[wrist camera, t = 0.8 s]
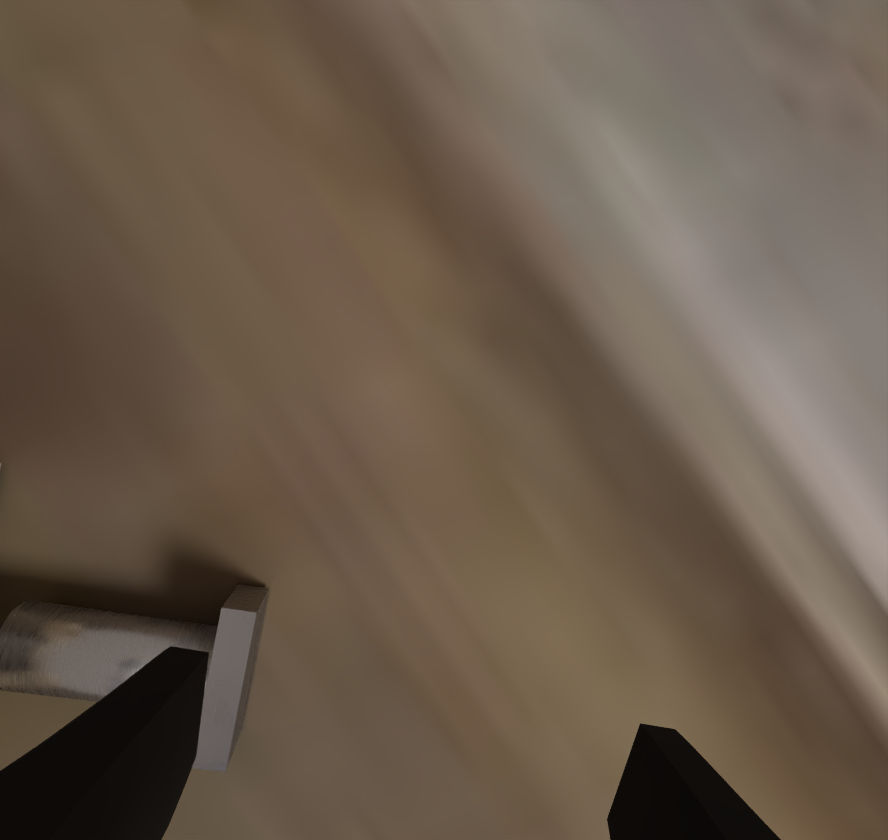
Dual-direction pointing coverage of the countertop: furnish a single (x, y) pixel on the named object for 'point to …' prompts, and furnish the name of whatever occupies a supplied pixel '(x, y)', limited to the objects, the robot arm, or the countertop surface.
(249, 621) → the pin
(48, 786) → the robot arm
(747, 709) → the countertop surface
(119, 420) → the countertop surface
